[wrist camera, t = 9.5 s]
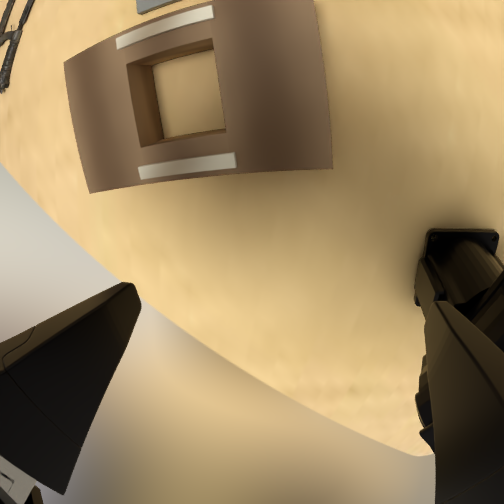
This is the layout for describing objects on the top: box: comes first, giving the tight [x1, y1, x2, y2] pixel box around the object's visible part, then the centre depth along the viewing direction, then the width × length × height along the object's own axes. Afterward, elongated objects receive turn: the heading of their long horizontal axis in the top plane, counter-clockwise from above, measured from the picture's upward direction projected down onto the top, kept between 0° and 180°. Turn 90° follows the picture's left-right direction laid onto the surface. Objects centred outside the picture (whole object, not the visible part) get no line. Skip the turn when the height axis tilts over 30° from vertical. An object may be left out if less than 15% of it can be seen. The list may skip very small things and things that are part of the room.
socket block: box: [64, 0, 333, 194], centre depth 15 cm, size 16×10×3 cm, turn 97°
